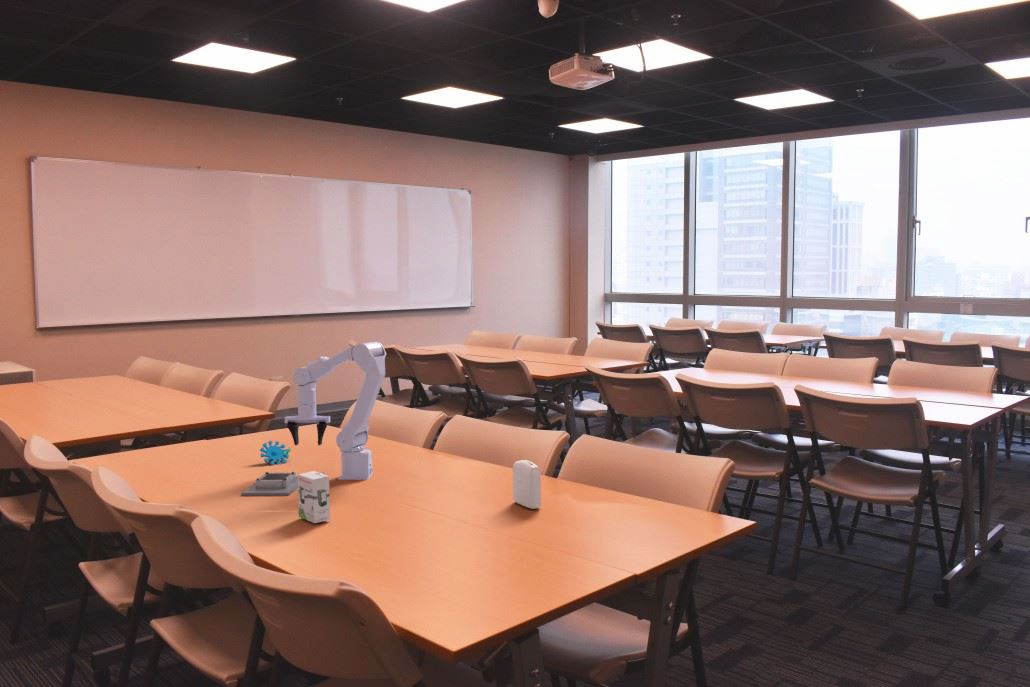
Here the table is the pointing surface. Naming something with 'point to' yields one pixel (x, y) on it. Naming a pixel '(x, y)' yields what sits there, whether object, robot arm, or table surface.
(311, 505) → the ink box
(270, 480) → the tray
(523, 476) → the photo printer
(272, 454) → the blue spiky round piece
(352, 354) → the robot arm
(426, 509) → the table surface
